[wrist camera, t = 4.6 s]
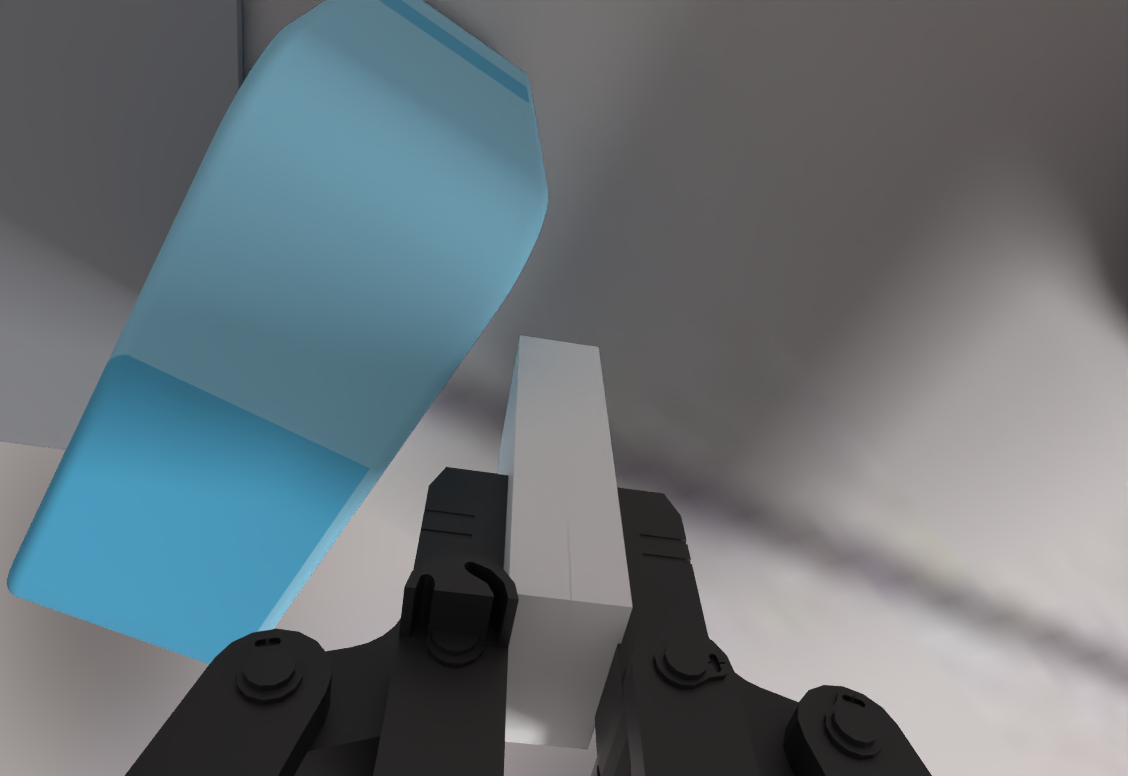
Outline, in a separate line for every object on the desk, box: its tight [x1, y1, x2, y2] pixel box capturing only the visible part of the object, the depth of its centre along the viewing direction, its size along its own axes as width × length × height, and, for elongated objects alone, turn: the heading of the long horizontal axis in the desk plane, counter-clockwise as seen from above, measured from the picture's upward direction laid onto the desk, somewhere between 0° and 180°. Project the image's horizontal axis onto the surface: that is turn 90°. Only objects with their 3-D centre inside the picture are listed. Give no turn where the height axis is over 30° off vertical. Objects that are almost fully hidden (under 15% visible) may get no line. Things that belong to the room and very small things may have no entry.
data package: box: [7, 0, 548, 664], centre depth 18 cm, size 12×4×12 cm, turn 145°
